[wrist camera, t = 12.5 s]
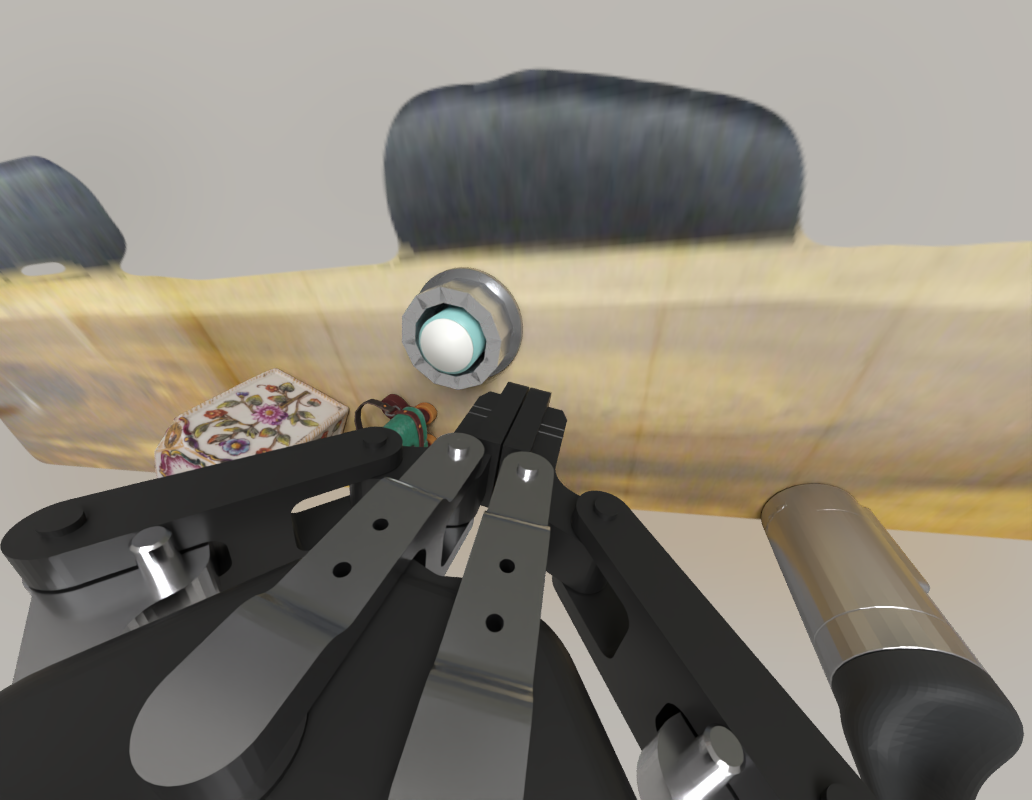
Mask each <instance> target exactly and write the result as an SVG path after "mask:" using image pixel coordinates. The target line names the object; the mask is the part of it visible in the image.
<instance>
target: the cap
mask: <svg viewBox="0 0 1032 800" xmlns="http://www.w3.org/2000/svg"><path fill="white" fill-rule="evenodd" d="M486 342H487V341H486V338H485V336H484V333H483V331H482V328H481V326H480V323H479V321H478V320H476V319H475V318H474V317H473V316H472V315H471V314H470V313H469V312H467V311H466V310H465V309H464V308H463V307H459V306H455V305H450V306H449V307H447V308H446V309H444V310H443V311H441V312H439V313H438V314H436V315H435V316H433V317H432V318H430V319H428V320H427V321H426V322H425V323H424V324H423V326H422V328H421V330H420V333H419V346H420V349H421V352H422V354H423V356H424V358H425V359H426V360H427V362H428V363H429V364H430V365H431V366H433V367H434V368H435V369H437V370H439V371H441V372H444V373H448V374H457V373H461V372H464V371H466V370H467V369H468V368H469V367H470V366H471V365H472V364H473V363H474V362H475V361H476V360H477V359H478V357H479V356H480V355H481V354H482V353H483V352H484V351H485V349H486Z"/></svg>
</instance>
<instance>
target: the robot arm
mask: <svg viewBox="0 0 1032 800" xmlns="http://www.w3.org/2000/svg"><path fill="white" fill-rule="evenodd" d="M550 398H551V393H550V392H546V391H543V390H539V389H535V388H530V390H529V387H527V386H523V385H520V384H516V383H512V382H508V383H507V385H506V387H505V388H504V390H503V391H502V393H501V394H498V393H494V392H491V391H490V392H488V393H486V394H484V395H482V396H480V397H479V398H478V400H477V401H476V402H475V404H474V406H473V407H472V408H471V409H470V411H469V413H468V414H467V415H466V416H465V418H464V419H463V421H462V422H461V424H460V425H459V426H458V428H457V429H456V431H455V432H454V433H448V434H445V435H442V436H440V437H439V438H437V439H436V440H435V441H434V442H433V443H432V445H431V446H430V447H412V446H403V440H402V437H401V436H400V434H399V433H397V432H396V431H394V430H392V429H389V428H385V427H368V428H363V429H359V430H355V431H351V432H347V433H343V434H338V435H334V436H330V437H326V438H322V439H318V440H314V441H309V442H305V443H301V444H297V445H293V446H289V447H285V448H281V449H276V450H272V451H268V452H264V453H260V454H256V455H252V456H248V457H243V458H239V459H235V460H231V461H227V462H223V463H219V464H215V465H210V466H206V467H202V468H198V469H194V470H190V471H186V472H182V473H177V474H173V475H169V476H165V477H161V478H157V479H153V480H149V481H145V482H140V483H137V484H132V485H128V486H124V487H120V488H116V489H111V490H107V491H103V492H99V493H95V494H91V495H87V496H83V497H79V498H74V499H70V500H67V501H63V502H59V503H56V504H54V505H50V506H48V507H46V508H43V509H41V510H39V511H37V512H35V513H33V514H31V515H29V516H28V517H26V518H24V519H22V520H21V521H20V522H18V523H17V524H16V525H14V526H13V527H12V528H11V529H10V530H9V531H8V532H7V533H6V534H5V536H4V537H3V539H2V541H1V551H2V553H3V554H4V555H5V557H6V558H7V559H8V561H9V562H10V563H11V565H12V566H13V567H14V568H15V570H16V571H17V572H18V574H19V575H20V576H21V577H22V583H23V585H24V587H25V588H26V590H27V591H28V592H29V593H30V595H31V596H32V598H31V603H30V608H29V612H28V616H27V621H26V625H25V629H24V634H23V638H22V643H21V647H20V652H19V656H18V661H17V665H16V669H15V674H14V678H13V683H12V685H10V686H8V687H7V688H5V689H3V690H2V691H0V800H637V798H636V796H635V794H634V792H633V790H632V788H631V785H630V783H629V781H628V779H627V777H626V775H625V772H624V770H623V768H622V766H621V764H620V762H619V759H618V757H617V755H616V753H615V751H614V749H613V747H612V744H611V742H610V740H609V738H608V736H607V734H606V731H605V729H604V727H603V725H602V723H601V721H600V718H599V716H598V714H597V712H596V710H595V708H594V706H593V703H592V702H591V699H590V697H589V695H588V692H587V690H586V688H585V686H584V684H583V682H582V680H581V677H580V675H579V673H578V671H577V669H576V666H575V664H574V662H573V660H572V658H571V656H570V654H569V653H568V651H567V649H566V648H565V646H564V644H563V643H562V641H561V640H560V639H559V638H558V636H557V635H556V634H555V632H554V631H553V630H552V629H551V628H550V627H549V626H548V625H547V624H546V623H545V622H544V621H543V620H542V619H540V618H541V609H542V600H543V591H544V583H545V574H546V571H547V572H548V573H549V574H551V575H552V582H553V586H554V588H555V590H556V592H557V594H558V596H559V598H560V600H561V602H562V603H563V605H564V607H565V609H566V611H567V613H568V614H569V616H570V618H571V620H572V622H573V624H574V626H575V628H576V629H577V631H578V633H579V635H580V637H581V639H582V641H583V642H584V644H585V646H586V648H587V650H588V652H589V654H590V655H591V657H592V659H593V661H594V663H595V665H596V666H597V668H598V670H599V672H600V674H601V675H602V677H603V680H604V681H605V683H606V685H607V687H608V688H609V691H610V693H611V694H612V696H613V698H614V700H615V702H616V703H617V706H618V707H619V709H620V711H621V713H622V715H623V717H624V718H625V720H626V722H627V724H628V726H629V728H630V729H631V732H632V733H633V735H634V737H635V739H636V741H637V743H638V744H639V746H640V748H641V750H642V752H641V754H640V756H639V760H638V764H637V784H638V791H639V794H640V798H641V800H975V799H976V796H977V794H978V792H979V790H980V788H981V786H982V785H983V784H984V782H985V781H986V780H987V778H989V776H990V775H991V774H992V773H994V772H995V771H996V770H997V769H998V768H1000V766H1002V765H1003V764H1004V763H1006V762H1007V761H1008V760H1009V759H1010V758H1012V757H1013V756H1014V755H1015V753H1016V752H1017V751H1018V750H1019V748H1020V746H1021V744H1022V741H1023V736H1024V733H1023V725H1022V722H1021V720H1020V718H1019V716H1018V714H1017V712H1016V710H1015V709H1014V708H1013V706H1012V704H1011V703H1010V701H1009V700H1008V699H1007V697H1006V696H1005V695H1004V693H1003V692H1002V691H1001V690H1000V688H999V687H998V686H997V684H996V683H995V682H994V680H993V679H992V678H991V676H990V675H989V674H988V673H987V671H986V670H985V669H984V667H983V666H982V665H981V663H980V662H979V661H978V659H977V658H976V657H975V655H974V654H973V653H972V652H971V650H970V649H969V648H968V646H967V645H966V644H965V642H964V641H963V640H962V638H961V637H960V636H959V635H958V633H957V632H956V631H955V630H954V628H953V627H952V626H951V624H950V623H949V622H948V620H947V619H946V618H945V616H944V615H943V614H942V612H941V611H940V610H939V609H938V607H937V606H936V605H935V603H934V602H933V601H932V599H931V598H930V597H929V596H928V594H927V593H928V592H929V590H930V586H929V584H928V583H927V581H926V580H925V579H924V578H923V576H922V575H921V574H920V572H919V571H918V570H917V569H916V567H915V566H914V565H913V563H912V562H911V561H910V560H909V558H908V557H907V556H906V555H905V553H904V552H903V551H902V549H901V548H900V547H899V546H898V544H897V543H896V542H895V540H894V539H893V538H892V537H891V536H890V534H889V533H888V532H887V530H886V529H885V528H884V526H883V525H882V524H881V523H880V521H879V520H878V519H877V518H876V516H875V515H874V514H873V512H872V511H871V510H870V509H869V508H865V507H862V506H860V505H859V504H858V502H857V501H856V500H855V498H854V497H853V496H852V495H850V494H849V493H848V492H846V491H844V490H842V489H840V488H838V487H834V486H831V485H825V484H804V485H798V486H794V487H791V488H788V489H785V490H783V491H781V492H779V493H777V494H776V495H775V496H774V497H772V498H771V499H770V500H769V501H768V502H767V503H766V505H765V506H764V508H763V510H762V515H761V521H762V525H763V528H764V530H765V532H766V535H767V537H768V540H769V542H770V544H771V547H772V549H773V552H774V554H775V557H776V559H777V561H778V564H779V566H780V569H781V571H782V573H783V576H784V578H785V580H786V583H787V585H788V588H789V590H790V592H791V594H792V597H793V599H794V602H795V604H796V607H797V609H798V611H799V613H800V616H801V618H802V621H803V623H804V626H805V628H806V630H807V633H808V635H809V637H810V640H811V642H812V644H813V647H814V649H815V651H816V654H817V656H818V658H819V661H820V663H821V666H822V668H823V670H824V673H825V675H826V677H827V680H828V682H829V684H830V687H831V689H832V692H833V694H834V696H835V698H836V701H837V703H838V706H839V709H840V714H841V715H840V717H841V723H842V727H843V731H844V735H845V738H846V740H847V743H848V746H849V748H850V751H851V753H852V756H853V759H854V761H855V764H856V767H857V769H858V772H859V774H860V777H861V779H860V778H859V776H858V775H857V774H856V773H855V772H854V771H853V769H852V768H851V767H850V766H849V765H848V764H847V762H846V761H845V760H844V759H843V758H842V756H841V755H840V754H839V753H838V752H837V751H836V750H835V748H834V747H833V746H832V745H831V744H830V743H829V741H828V740H827V739H826V738H825V737H824V735H823V734H822V733H821V732H820V731H819V730H818V728H817V727H816V726H815V725H814V724H813V723H812V721H811V720H810V719H809V718H808V717H807V716H806V714H805V713H804V712H803V711H802V710H801V709H800V707H799V706H798V705H797V704H796V703H795V701H794V700H793V699H792V698H791V697H790V696H789V694H788V693H787V692H786V691H785V690H784V689H783V688H782V686H781V685H780V684H779V683H778V682H777V680H776V679H775V678H774V677H773V676H772V675H771V673H770V672H769V671H768V670H767V669H766V668H765V666H764V665H763V664H762V663H761V662H760V661H759V659H758V658H757V657H756V656H755V655H754V654H753V652H752V651H751V650H750V649H749V648H748V647H747V645H746V644H745V643H744V642H743V641H742V640H741V638H740V637H739V636H738V635H737V634H736V633H735V631H734V630H733V629H732V628H731V627H730V625H729V624H728V623H727V622H726V621H725V620H724V618H723V617H722V616H721V615H720V614H719V613H718V611H717V610H716V609H715V608H714V607H713V606H712V604H711V603H710V602H709V601H708V600H707V599H706V597H705V596H704V595H703V594H702V593H701V592H700V590H699V589H698V588H697V587H696V586H695V584H694V583H693V582H692V581H691V580H690V579H689V577H688V576H687V575H686V574H685V573H684V572H683V571H682V570H681V568H680V567H679V566H678V565H677V564H676V563H675V561H674V560H673V559H672V558H671V556H670V555H669V554H668V553H667V552H666V551H665V550H664V548H663V547H662V546H661V545H660V544H659V542H658V541H657V540H656V539H655V538H654V537H653V535H652V534H651V533H650V532H649V531H648V530H647V528H646V527H645V526H644V525H643V524H642V523H641V521H640V520H639V519H638V518H637V517H636V516H635V514H634V513H633V512H632V511H631V510H630V508H629V507H628V506H627V505H626V504H625V503H624V502H623V501H622V500H620V499H619V498H617V497H616V496H614V495H612V494H609V493H606V492H602V491H588V492H585V493H583V494H582V495H581V496H579V495H577V494H575V493H574V492H572V491H570V490H569V489H567V488H566V487H565V486H564V485H563V484H562V483H561V482H560V481H559V479H558V477H557V475H556V472H555V467H556V463H557V459H558V455H559V451H560V447H561V443H562V438H563V434H564V430H565V426H566V422H567V419H566V417H565V415H564V412H563V411H562V410H558V409H554V408H551V407H549V403H550ZM348 485H349V486H350V495H349V496H346V497H343V498H340V499H337V500H334V501H331V502H328V503H325V504H322V505H319V506H316V507H313V508H310V509H307V510H304V511H301V512H298V513H291V511H292V509H293V507H294V506H295V505H296V504H298V503H299V502H301V501H302V500H304V499H307V498H310V497H314V496H317V495H320V494H323V493H326V492H329V491H332V490H335V489H338V488H342V487H345V486H348ZM480 505H481V506H485V507H488V510H487V511H485V512H484V514H483V517H482V520H481V523H480V526H479V529H478V532H477V535H476V538H475V542H474V544H473V547H472V550H471V553H470V556H469V560H468V563H467V566H466V569H465V572H464V575H463V578H459V577H448V576H445V574H446V572H447V570H448V568H449V566H450V565H451V563H452V561H453V560H454V558H455V556H456V554H457V553H458V551H459V549H460V547H461V545H462V544H463V542H464V540H465V538H466V537H467V535H468V533H469V531H470V530H471V528H472V525H473V521H474V517H475V515H476V514H477V511H478V509H479V507H480Z"/></svg>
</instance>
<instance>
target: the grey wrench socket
mask: <svg viewBox="0 0 1032 800" xmlns="http://www.w3.org/2000/svg"><path fill="white" fill-rule="evenodd" d="M450 305H455V306H459V307H463V308H464V309H465V310H466V311H467V312H469V313H470V314H471V315H472V316H473V317H474V318H475V319H476V320H478V321H479V323H480V326H481V328H482V331H483V333H484V336H485V338H486V341H487V342H486V349H485V351H484V352H483V353H482V354H481V355H480V356H479V357H478V359H477V360H476V361H475V362H474V363H473V364H472V365H471V366H470V367H469V368H468V369H467V370H466V371H464V372H461V373H457V374H448V373H444V372H441V371H439V370H437V369H435V368H434V367H433V366H431V365H430V364H429V363H428V362H427V360H426V359H425V358H424V356H423V354H422V352H421V349H420V346H419V333H420V330H421V328H422V326H423V324H424V323H425V322H426V321H427V320H428V319H430V318H432V317H433V316H435V315H436V314H438V313H439V312H441V311H443V310H444V309H446V308H447V307H449V306H450ZM522 334H523V323H522V317H521V313H520V310H519V307H518V305H517V302H516V301H515V299H514V297H513V295H512V294H511V293H510V291H509V290H508V289H507V288H506V287H505V286H504V285H503V284H502V283H501V282H500V281H499V280H497V279H496V278H495V277H493V276H491V275H490V274H488V273H486V272H483V271H481V270H478V269H474V268H464V267H460V268H453V269H449V270H446V271H444V272H442V273H439V274H437V275H436V276H434V277H433V278H431V279H430V280H429V281H428V282H427V283H426V284H425V285H424V287H423V288H422V290H421V291H420V293H419V294H418V295H416V296H415V298H414V299H413V301H412V302H411V304H410V305H409V307H408V308H407V310H406V311H405V313H404V314H403V316H402V343H403V345H404V347H405V349H406V351H407V353H408V356H409V358H410V360H411V362H412V364H413V366H414V367H415V368H417V369H418V370H419V371H420V372H421V373H422V374H424V375H425V376H426V377H427V378H428V379H430V380H431V381H432V382H433V383H435V384H439V385H442V386H446V387H450V388H453V389H457V390H460V389H464V388H468V387H472V386H476V385H480V384H482V383H483V382H484V381H485V380H486V379H487V378H488V377H490V376H493V375H495V374H497V373H499V372H501V371H502V370H503V369H505V368H506V367H507V366H508V365H509V364H510V362H511V361H512V360H513V359H514V357H515V355H516V354H517V352H518V350H519V347H520V345H521V341H522Z"/></svg>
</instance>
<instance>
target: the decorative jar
mask: <svg viewBox="0 0 1032 800" xmlns="http://www.w3.org/2000/svg"><path fill="white" fill-rule="evenodd" d="M348 411H349V408H348V407H347V406H345V405H343V404H341V403H339V402H337V401H336V400H334V399H332V398H331V397H329V396H327V395H325V394H324V393H322V392H320V391H318V390H316V389H314V388H313V387H311V386H309V385H307V384H305V383H303V382H301V381H299V380H297V379H296V378H294V377H292V376H290V375H288V374H287V373H285V372H283V371H281V370H279V369H277V368H274V369H271V370H269V371H266V372H264V373H262V374H260V375H258V376H255V377H253V378H251V379H249V380H247V381H245V382H243V383H241V384H239V385H237V386H235V387H233V388H232V389H230V390H228V391H226V392H224V393H221V394H220V395H217V396H215V397H213V398H212V399H210V400H208V401H206V402H204V403H202V404H200V405H198V406H196V407H194V408H192V409H190V410H188V411H186V412H184V413H183V414H181V415H179V416H178V417H176V418H175V419H174V422H173V423H172V425H171V426H170V427H169V428H168V429H167V431H166V433H165V436H164V437H163V439H162V440H161V442H160V443H159V445H158V446H157V448H156V450H155V470H156V476H157V478H161V477H165V476H169V475H173V474H177V473H182V472H186V471H190V470H194V469H198V468H202V467H206V466H210V465H215V464H219V463H223V462H227V461H231V460H235V459H239V458H243V457H248V456H252V455H256V454H260V453H264V452H268V451H272V450H276V449H281V448H285V447H289V446H293V445H297V444H301V443H305V442H309V441H314V440H318V439H322V438H326V437H330V436H334V435H338V434H342V433H343V430H344V426H345V422H346V418H347V415H348Z"/></svg>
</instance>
